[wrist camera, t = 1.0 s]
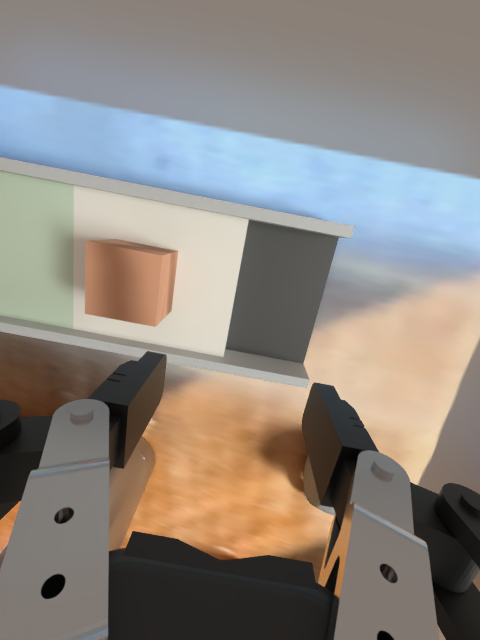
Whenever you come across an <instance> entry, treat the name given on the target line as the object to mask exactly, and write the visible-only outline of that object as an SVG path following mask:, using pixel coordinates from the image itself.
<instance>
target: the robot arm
mask: <svg viewBox="0 0 480 640" xmlns="http://www.w3.org/2000/svg"><path fill="white" fill-rule="evenodd" d="M166 361H167V356H166V354H162V353H156V352H151V351H147V352H146V353H145V354H144V355H143V356H142V357H141V359H140V360H139V361H132V360H131V361H129V362H126V363H124V364H122V365H120V366H119V367H118V368H117V369H116V370H115V371H114V372H113V374H111V375H110V376H109V377H108V378H107V380H105V381H104V382H103V383H102V384H101V385H100V386H99V387H98V388H97V389H96V390H95V391H94V393H93V394H92V395H91V396H90V397H89V398H88V399H81V400H76V401H72V402H69V403H67V404H65V405H63V406H61V407H60V408H59V409H57V410H56V412H55V413H54V415H53V416H40V417H21V411H20V407H19V406H18V404H16V403H14V402H11V401H6V400H0V520H1V519H2V518H3V517H4V516H5V515H6V514H7V513H8V512H9V511H10V510H11V509H12V508H13V507H14V506H15V505H16V504H17V503H18V502H19V501H21V503H20V506H19V510H18V513H17V516H16V520H15V523H14V526H13V530H12V533H11V536H10V539H9V543H8V545H7V546H6V548H5V549H4V550H3V551H2V553H1V554H0V640H439V635H438V627H437V624H438V626H439V628H440V630H441V631H442V633H443V635H444V637H445V638H446V640H480V592H479V591H478V589H477V588H476V586H475V585H474V584H473V580H474V579H475V577H476V576H477V574H478V573H479V571H480V495H479V494H478V493H476V492H474V491H472V490H471V489H469V488H466V487H464V486H462V485H458V484H453V483H448V484H445V485H444V486H443V487H442V490H441V491H440V493H439V494H437V493H434V492H432V491H429V490H427V489H425V488H422V487H420V486H417V485H415V484H413V483H411V482H410V479H409V477H408V475H407V473H406V471H405V470H404V469H403V468H402V467H401V466H400V465H399V464H398V463H397V462H396V461H394V460H393V459H391V458H390V457H388V456H386V455H384V454H382V453H379V451H378V450H377V448H376V446H375V444H374V443H373V441H372V439H371V437H370V435H369V434H368V432H367V430H366V429H365V428H364V425H363V423H362V421H361V420H360V418H359V416H358V414H357V413H356V411H355V409H354V408H353V407H352V406H350V405H349V404H348V403H347V402H346V401H345V400H341V399H340V397H339V395H338V393H337V391H336V390H335V388H334V386H331V385H326V384H320V383H314V384H313V385H312V387H311V390H310V394H309V397H308V400H307V404H306V407H305V410H304V414H303V418H302V431H303V436H304V440H305V444H306V448H307V452H308V456H309V460H310V464H311V468H312V472H313V476H314V480H315V484H316V488H317V493H318V497H319V501H320V505H322V506H327V507H333V508H334V510H335V516H334V519H333V521H332V524H331V529H330V533H329V537H328V542H327V546H326V551H325V555H324V559H323V564H322V568H321V572H320V577H319V581H318V583H316V582H315V576H314V571H313V565H312V563H309V562H304V561H298V560H292V559H287V558H281V557H276V556H270V555H266V556H258V557H250V558H242V559H234V560H219V559H217V558H214V557H212V556H210V555H208V554H206V553H204V552H202V551H200V550H198V549H196V548H194V547H192V546H190V545H188V544H186V543H184V542H182V541H180V540H178V539H174V538H169V537H163V536H158V535H152V534H146V533H141V532H135V531H133V532H132V534H131V537H130V539H129V542H128V544H127V547H126V548H122V549H120V547H121V545H122V543H123V540H124V538H125V535H126V533H127V531H128V528H129V526H130V523H131V521H132V518H133V516H134V514H135V511H136V509H137V506H138V504H139V502H140V499H141V497H142V495H143V492H144V490H145V487H146V485H147V483H148V480H149V478H150V475H151V473H152V470H153V468H154V464H155V457H154V453H153V450H152V448H151V447H150V445H149V444H148V442H147V441H145V440H144V439H143V438H142V437H141V436H142V434H143V432H144V431H145V429H146V427H147V425H148V423H149V421H150V419H151V418H152V416H153V414H154V412H155V410H156V408H157V407H158V405H159V403H160V400H161V397H162V393H163V388H164V379H165V370H166Z"/></svg>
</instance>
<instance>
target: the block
mask: <svg viewBox="0 0 480 640" xmlns="http://www.w3.org/2000/svg"><path fill="white" fill-rule="evenodd" d="M177 258H178V251H175V250H170V249H165V248H160V247H155V246H149V245H144V244H139V243H134V242H129V241H123V240H118V239H108V240H92V241H86V269H85V314H89V315H94V316H99V317H105V318H110V319H115V320H121V321H126V322H131V323H137V324H142V325H147V326H153V327H156V326H157V325H158V324H159V323H160V322H161V321H162V320H163V319H164V318H165V317H166V316H167V315H168V314H169V313H170V312H171V311H172V302H173V293H174V285H175V276H176V267H177Z"/></svg>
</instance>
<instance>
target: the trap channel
mask: <svg viewBox="0 0 480 640" xmlns="http://www.w3.org/2000/svg"><path fill="white" fill-rule="evenodd" d="M0 171H4V172H9V173H14V174H20V175H25V176H30V177H35V178H40V179H45V180H50V181H56V182H61V183H66V184H71V185H74V290H73V291H74V292H73V293H74V296H73V297H74V298H73V329H70V328H65V327H59V326H54V325H48V324H43V323H38V322H32V321H27V320H22V319H16V318H11V317H5V316H0V331H1V332H6V333H12V334H17V335H22V336H28V337H33V338H39V339H44V340H49V341H55V342H60V343H66V344H71V345H76V346H82V347H87V348H93V349H98V350H103V351H109V352H114V353H120V354H125V355H130V356H136V357H142V356H143V355H144V354H145V353H146V352H147V351H151V352H156V353H162V354H166V356H167V361H166V362H168V363H174V364H179V365H184V366H190V367H195V368H201V369H206V370H211V371H217V372H222V373H228V374H233V375H238V376H244V377H249V378H255V379H260V380H265V381H271V382H276V383H282V384H287V385H292V386H298V387H303V388H307V386H308V382H309V378H308V375H307V372H306V370H305V367H304V365H303V362H304V359H305V355H306V352H307V348H308V345H309V341H310V338H311V334H312V330H313V327H314V323H315V320H316V316H317V313H318V309H319V306H320V302H321V298H322V295H323V291H324V288H325V284H326V281H327V277H328V274H329V270H330V266H331V263H332V259H333V256H334V252H335V249H336V245H337V241H338V238H339V237H341V238H351V236H352V233H353V229H354V226H351V225H345V224H340V223H335V222H330V221H325V220H320V219H315V218H310V217H304V216H299V215H294V214H289V213H284V212H279V211H274V210H269V209H263V208H258V207H253V206H248V205H243V204H238V203H233V202H228V201H223V200H217V199H212V198H207V197H202V196H197V195H192V194H187V193H182V192H176V191H171V190H166V189H161V188H156V187H151V186H146V185H141V184H136V183H130V182H125V181H120V180H115V179H110V178H105V177H100V176H95V175H89V174H84V173H79V172H74V171H69V170H64V169H59V168H54V167H48V166H43V165H38V164H33V163H28V162H23V161H18V160H13V159H8V158H2V157H0ZM108 239H118V240H123V241H129V242H134V243H139V244H144V245H149V246H155V247H160V248H165V249H170V250H175V251H178V258H177V267H176V276H175V285H174V293H173V302H172V311H171V312H170V313H169V314H168V315H167V316H166V317H165V318H164V319H163V320H162V321H161V322H160V323H159V324H158V325H157V326H156V327H153V326H147V325H142V324H137V323H131V322H126V321H121V320H115V319H110V318H105V317H99V316H94V315H89V314H85V269H86V241H92V240H108Z"/></svg>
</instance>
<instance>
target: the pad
mask: <svg viewBox="0 0 480 640" xmlns="http://www.w3.org/2000/svg"><path fill="white" fill-rule="evenodd" d="M73 290H74V185H71V184H66V183H61V182H56V181H50V180H45V179H40V178H35V177H30V176H25V175H20V174H14V173H9V172H4V171H0V316H5V317H11V318H16V319H22V320H27V321H32V322H38V323H43V324H48V325H54V326H59V327H65V328H70V329H73V298H74V297H73V296H74V293H73V292H74V291H73Z"/></svg>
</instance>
